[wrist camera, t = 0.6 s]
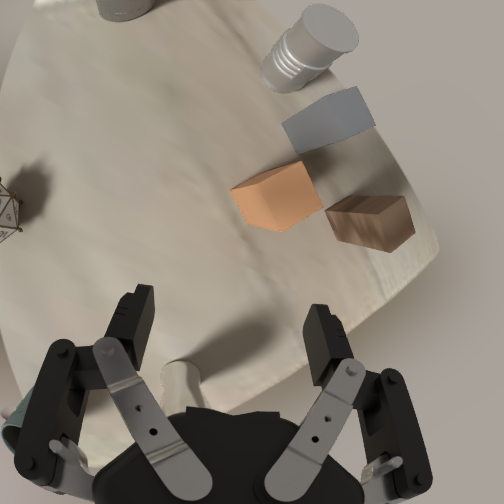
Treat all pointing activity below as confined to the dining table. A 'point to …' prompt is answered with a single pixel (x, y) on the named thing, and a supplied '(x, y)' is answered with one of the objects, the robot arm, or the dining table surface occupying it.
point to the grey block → (329, 120)
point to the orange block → (277, 197)
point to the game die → (8, 213)
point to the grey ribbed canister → (308, 48)
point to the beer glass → (181, 388)
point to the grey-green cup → (15, 424)
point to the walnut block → (372, 221)
